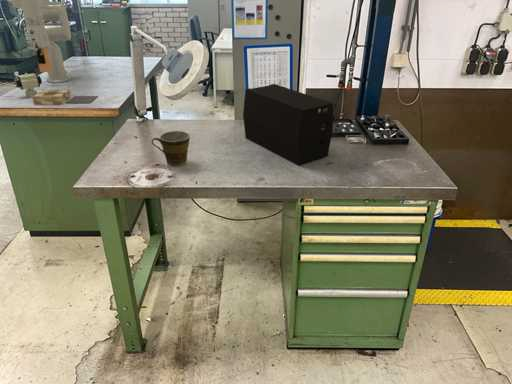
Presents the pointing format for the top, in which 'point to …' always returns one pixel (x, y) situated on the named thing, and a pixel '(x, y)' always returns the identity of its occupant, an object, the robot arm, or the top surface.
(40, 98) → the socket block
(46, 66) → the peg
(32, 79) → the pneumatic valve
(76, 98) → the rubber pad
